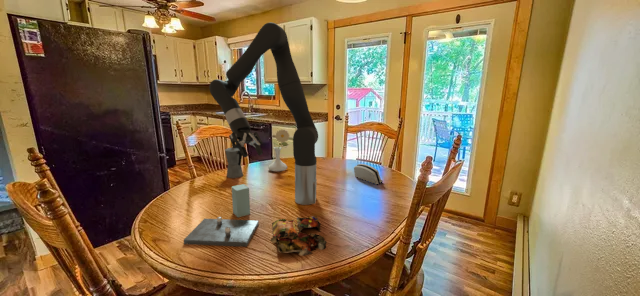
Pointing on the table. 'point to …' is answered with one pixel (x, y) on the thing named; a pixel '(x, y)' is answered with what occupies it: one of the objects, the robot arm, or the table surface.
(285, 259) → the table surface
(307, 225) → the food
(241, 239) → the mounting plate
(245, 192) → the block
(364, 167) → the napkin holder
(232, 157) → the coffeepot
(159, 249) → the table surface
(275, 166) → the flower in vase
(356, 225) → the table surface
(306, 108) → the robot arm
